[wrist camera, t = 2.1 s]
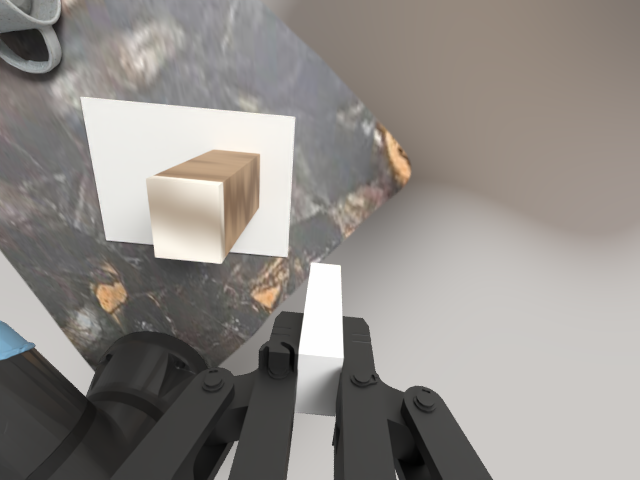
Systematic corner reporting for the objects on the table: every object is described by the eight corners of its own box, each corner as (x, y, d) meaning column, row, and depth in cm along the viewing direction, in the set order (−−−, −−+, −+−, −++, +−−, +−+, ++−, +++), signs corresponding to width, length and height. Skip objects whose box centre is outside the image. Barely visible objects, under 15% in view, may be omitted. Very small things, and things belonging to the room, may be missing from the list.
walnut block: (259, 207, 38) (221, 263, 25) (215, 203, 38) (155, 257, 25) (260, 153, 36) (218, 185, 23) (213, 149, 36) (145, 178, 23)
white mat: (287, 255, 41) (287, 257, 40) (108, 239, 41) (106, 240, 40) (295, 117, 34) (294, 117, 34) (82, 96, 34) (80, 96, 34)
